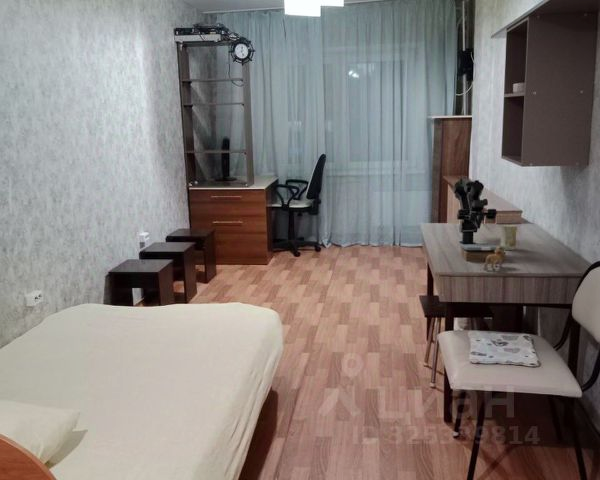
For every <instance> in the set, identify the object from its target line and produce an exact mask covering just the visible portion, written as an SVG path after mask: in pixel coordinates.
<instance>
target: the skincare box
mask: <svg viewBox="0 0 600 480" xmlns="http://www.w3.org/2000/svg"><path fill="white" fill-rule="evenodd" d="M517 227H518V226H517V225H515V224H506V225H505V224H504V225H501V229H500V230H501V231H500V232H501V234H500V244H499V245H501V246H504V247H505V250H504V251H510V250H511V251H512V250H516V242H517V241H516V240H517Z"/></svg>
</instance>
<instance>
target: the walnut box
mask: <svg viewBox="0 0 600 480" xmlns="http://www.w3.org/2000/svg"><path fill="white" fill-rule="evenodd" d="M494 254H495V250H465V249H464V248H462V247H461V246H460V256H461V257H462V258H463V259H464V260H465V261H466V262H486V258H487V256H488V255H494ZM504 261H506V252H505V251H504V259H502V262H504Z"/></svg>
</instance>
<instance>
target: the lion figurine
mask: <svg viewBox="0 0 600 480" xmlns="http://www.w3.org/2000/svg"><path fill="white" fill-rule="evenodd" d="M504 252H505V250H504V249H503V248H502V247H499V246H498V247H497V248H496V250H495V254H494V255H488V256H487V258H486V261H485V263H484V264H483V265H484V266H483V270H485V271H489V268H488V264H489V263H490V264H491V266H490V268H491V269H492V270H493V271H496V267H497V263H498V262H499V268H503V265H502V264H503V261H502V259H504ZM494 267H495V268H494Z"/></svg>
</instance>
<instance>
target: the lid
mask: <svg viewBox="0 0 600 480" xmlns="http://www.w3.org/2000/svg"><path fill="white" fill-rule="evenodd" d="M498 246H499V247H502V248H503V249H504V251H506V250H505V247H504V246H501V245H500V244H498V243H490V244H489V243H488V244H487V243H485V244H484V243H483V244H482V243H481V244H478V243H476V244H466V245H465V244H461V245H460V248H461V247H462V248H464V249H465V250H496V248H497V247H498Z"/></svg>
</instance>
